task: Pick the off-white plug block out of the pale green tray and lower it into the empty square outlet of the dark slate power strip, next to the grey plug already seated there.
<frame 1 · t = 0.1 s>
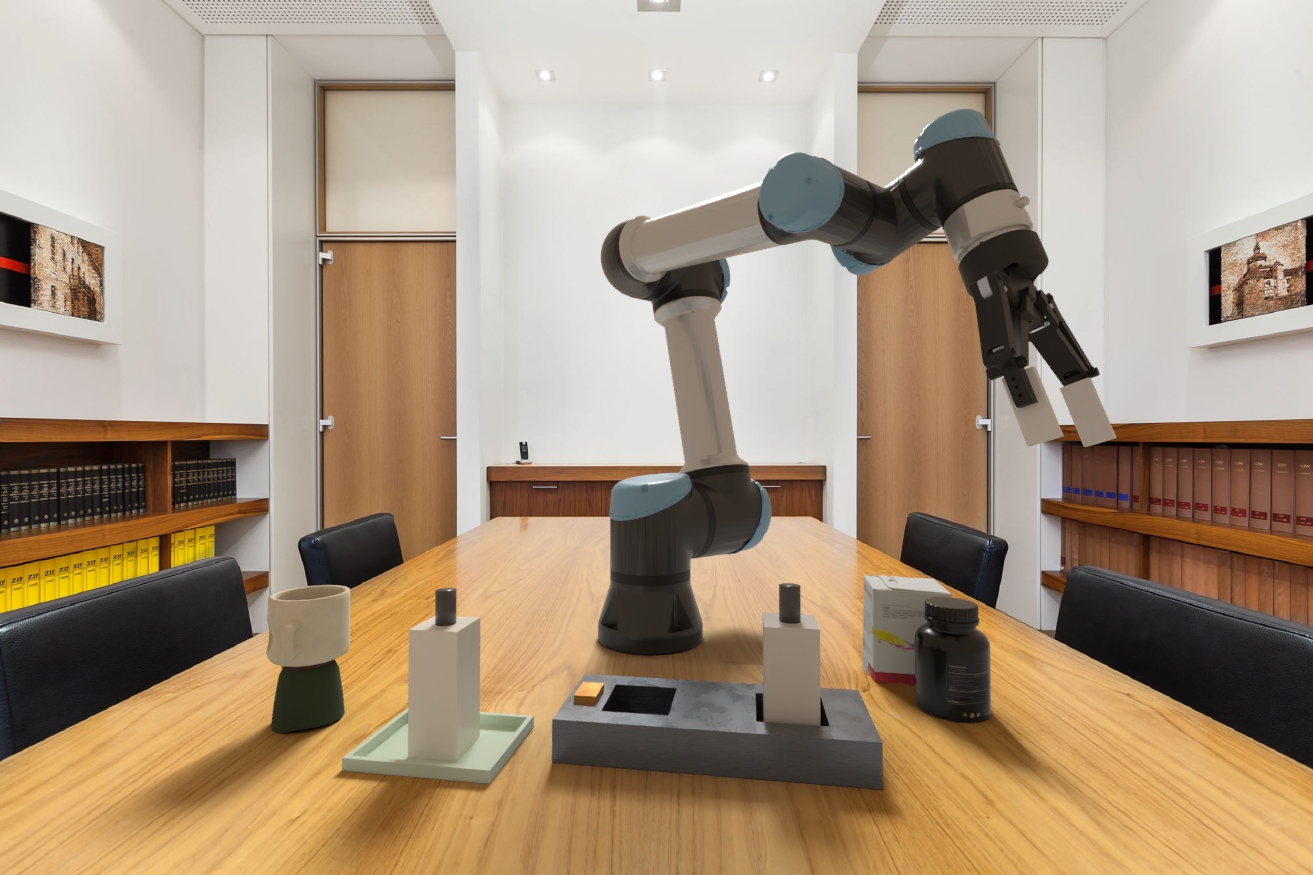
hand: (1074, 442, 56), 28 cm above the table, tool tilted 20°, fingers open, 13 cm apart
power strip: (714, 761, 52), on the table
tray: (444, 752, 54), on the table
character mug: (308, 726, 59), on the table
supplement bottle: (952, 724, 59), on the table
twin plug: (790, 749, 51), point 1 cm above the table, touching power strip
plug: (445, 746, 54), resting on tray
ink box: (904, 684, 70), on the table
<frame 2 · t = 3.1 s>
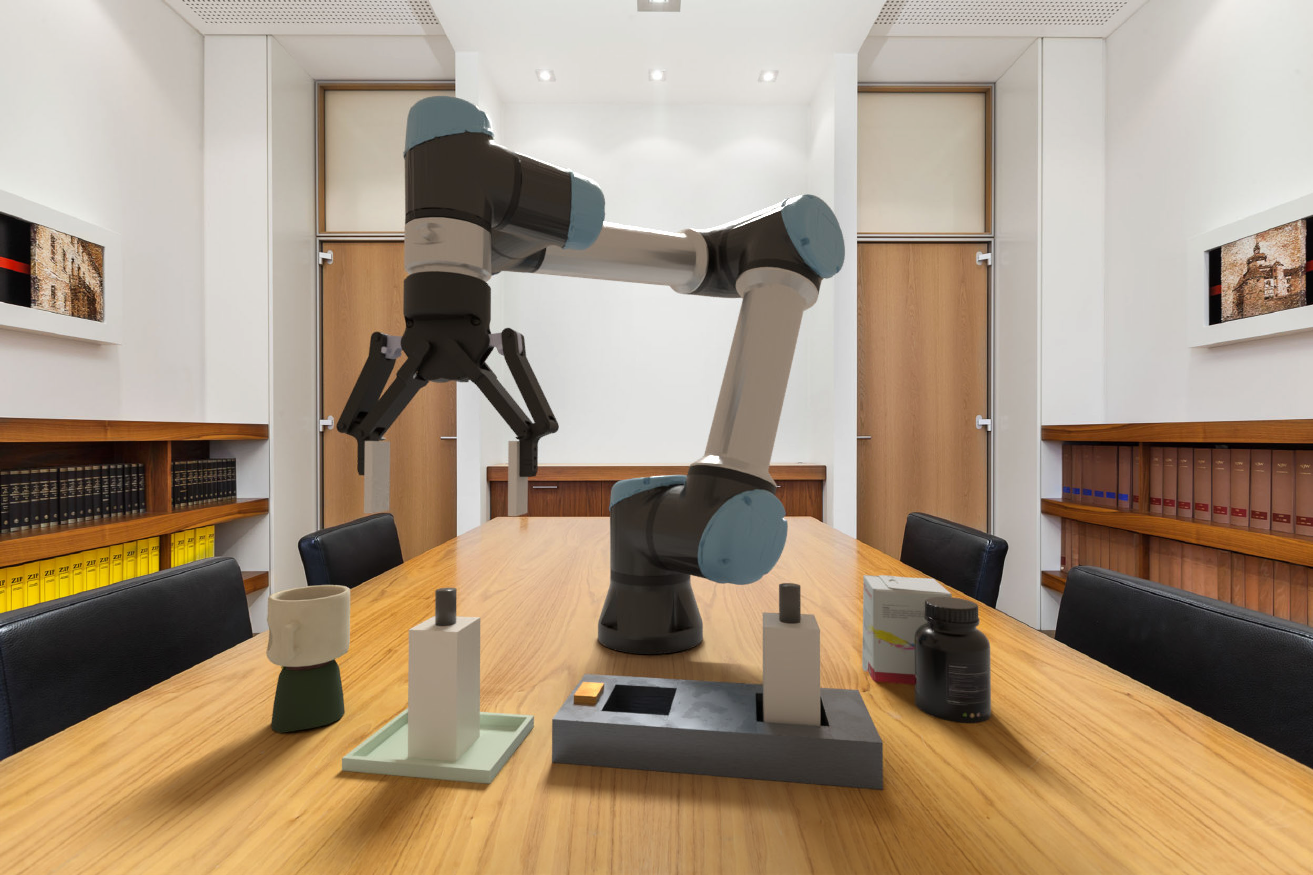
hand: (446, 513, 54), 21 cm above the table, tool pointing down, fingers open, 13 cm apart
nothing on the table moved.
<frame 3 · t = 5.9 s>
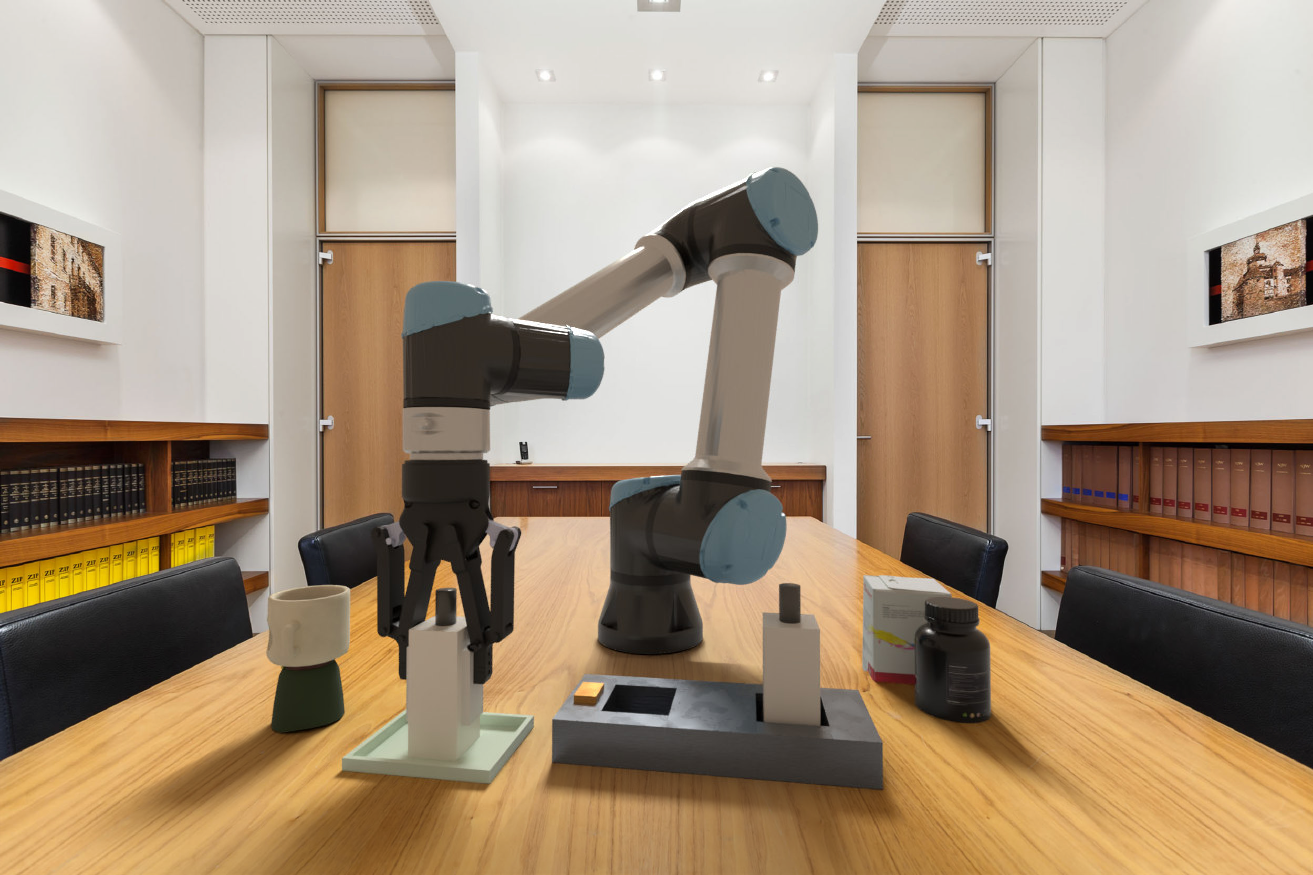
hand: (445, 716, 54), 3 cm above the table, tool pointing down, fingers closed on plug, 4 cm apart
plug: (445, 746, 54), point 1 cm above the table, touching gripper, tray
everything else where it was.
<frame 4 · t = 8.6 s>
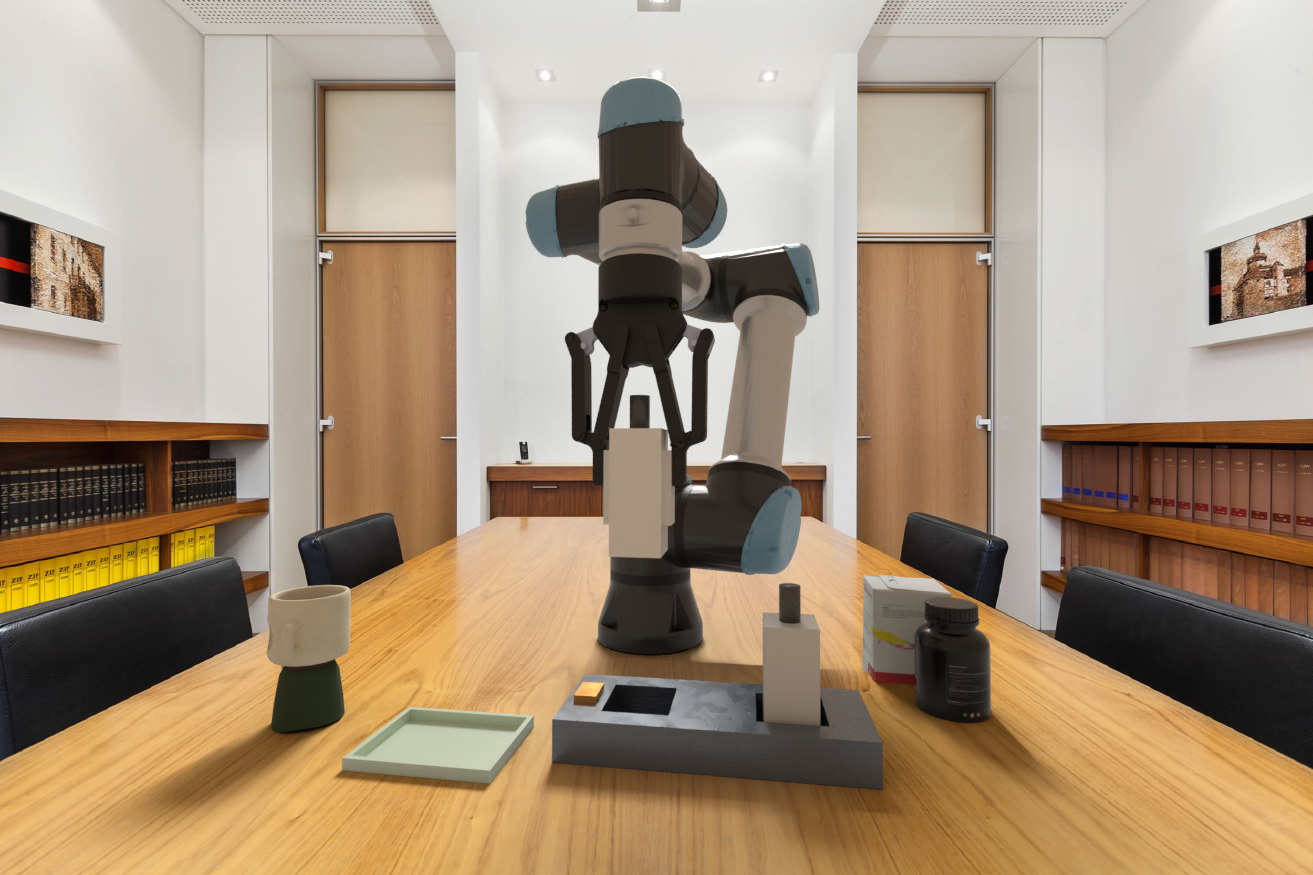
hand: (639, 522, 53), 21 cm above the table, tool pointing down, fingers closed on plug, 4 cm apart
plug: (639, 553, 53), point 18 cm above the table, touching gripper
everything else where it was.
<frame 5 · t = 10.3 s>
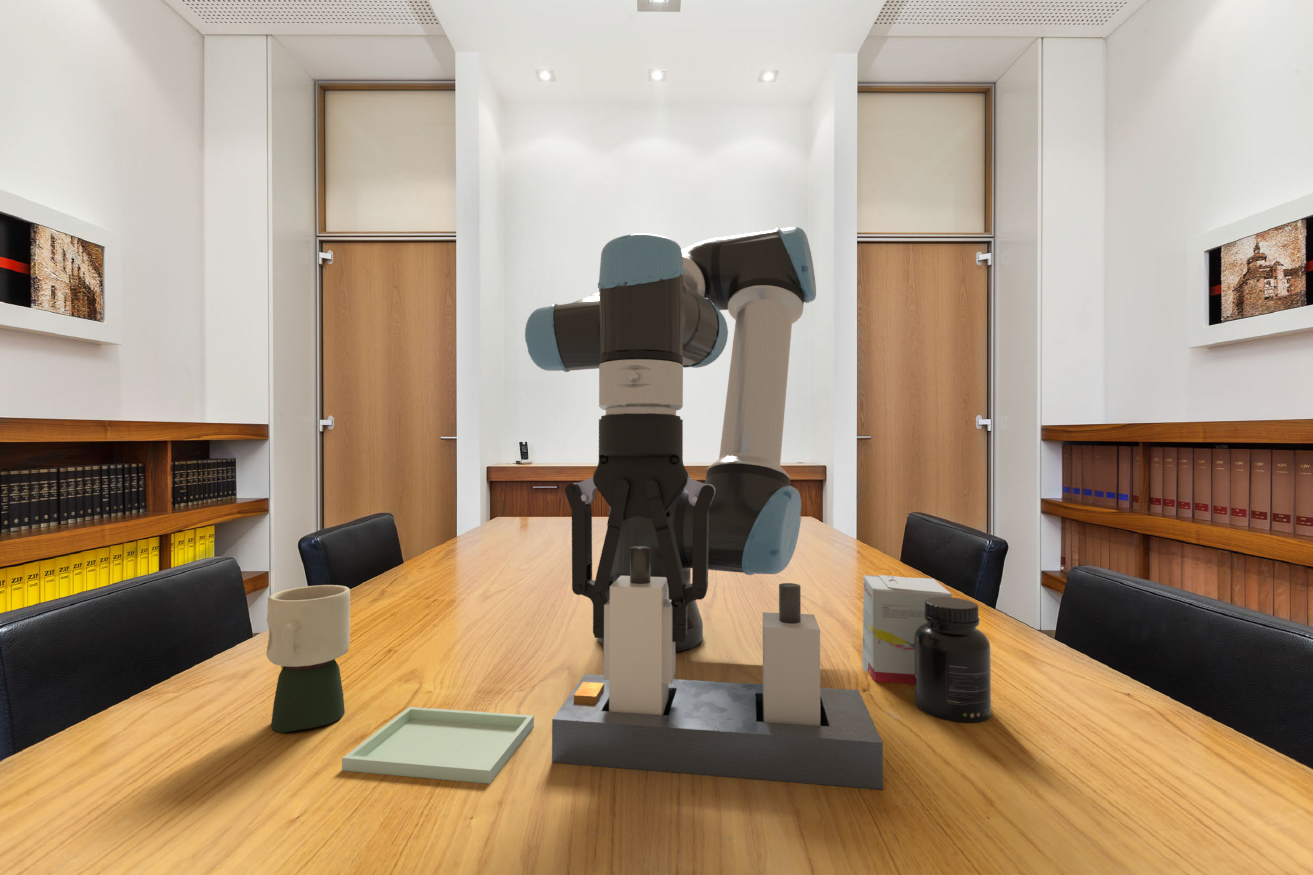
hand: (640, 675, 53), 7 cm above the table, tool pointing down, fingers closed on plug, 4 cm apart
plug: (639, 706, 53), point 4 cm above the table, touching gripper
everything else where it was.
when the fingers open (6 cm above the table, at t = 11.4 s): plug drops 2 cm, resting on power strip.
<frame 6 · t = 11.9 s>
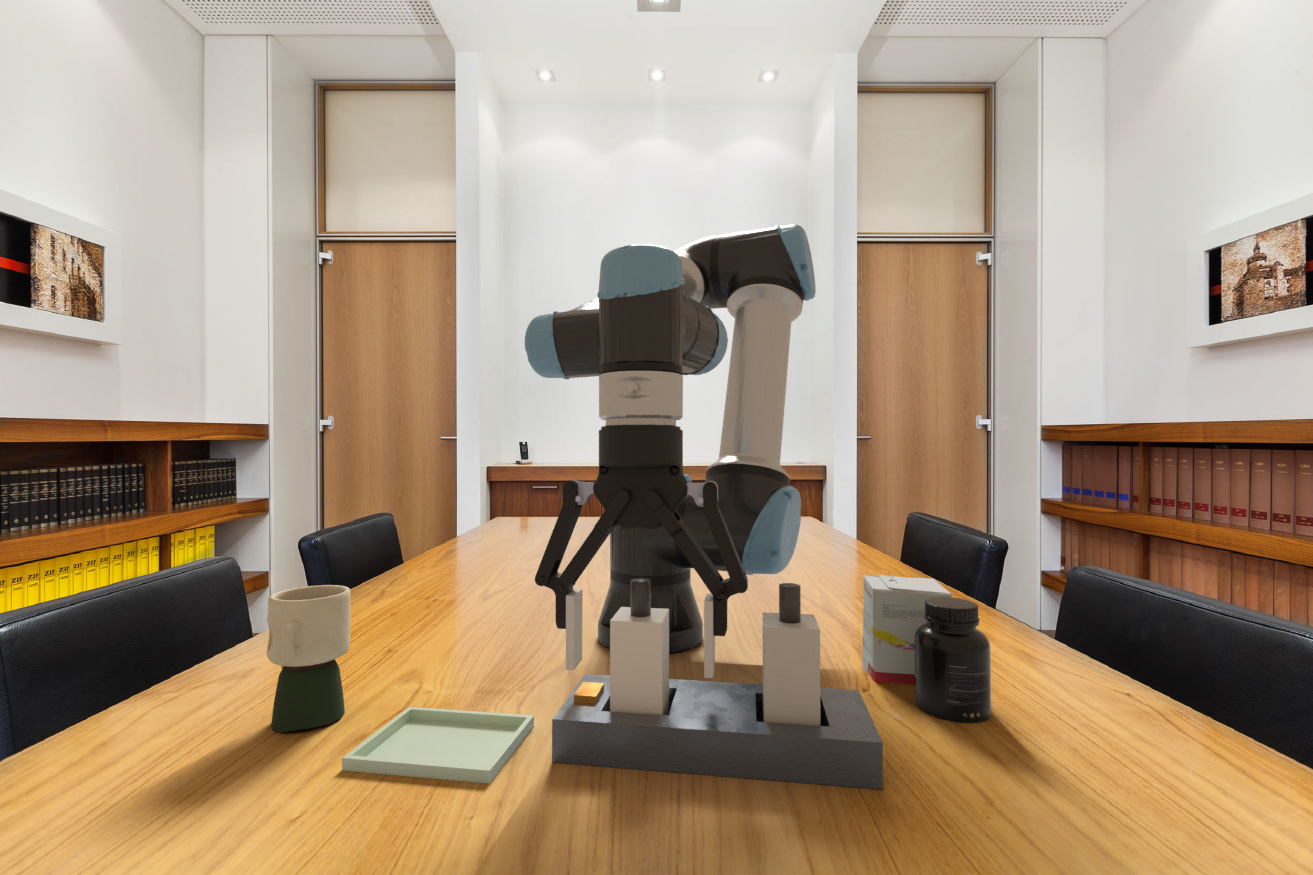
hand: (640, 668, 53), 8 cm above the table, tool pointing down, fingers open, 11 cm apart
plug: (640, 739, 53), point 1 cm above the table, touching power strip
everything else where it was.
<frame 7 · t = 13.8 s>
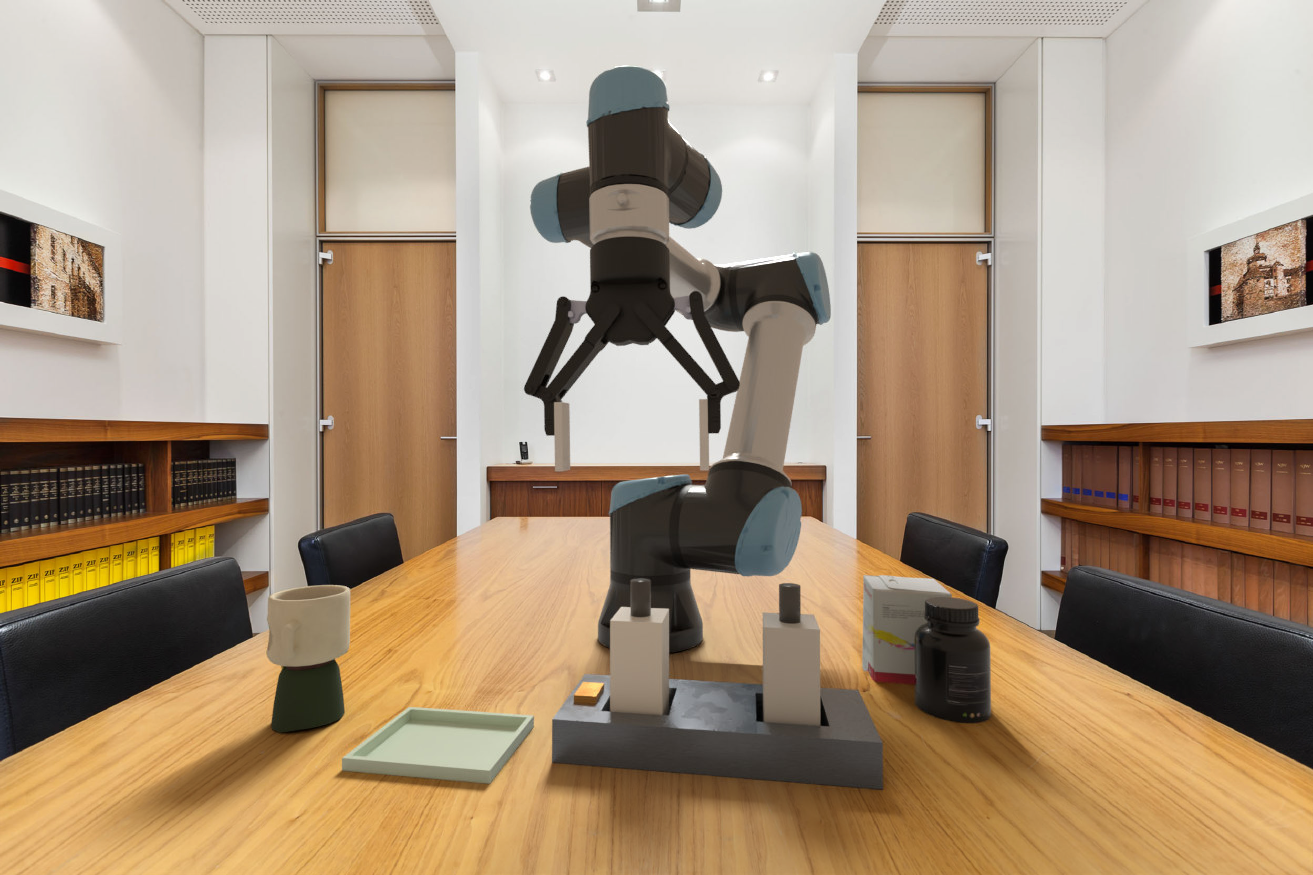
hand: (632, 470, 57), 25 cm above the table, tool pointing down, fingers open, 13 cm apart
nothing on the table moved.
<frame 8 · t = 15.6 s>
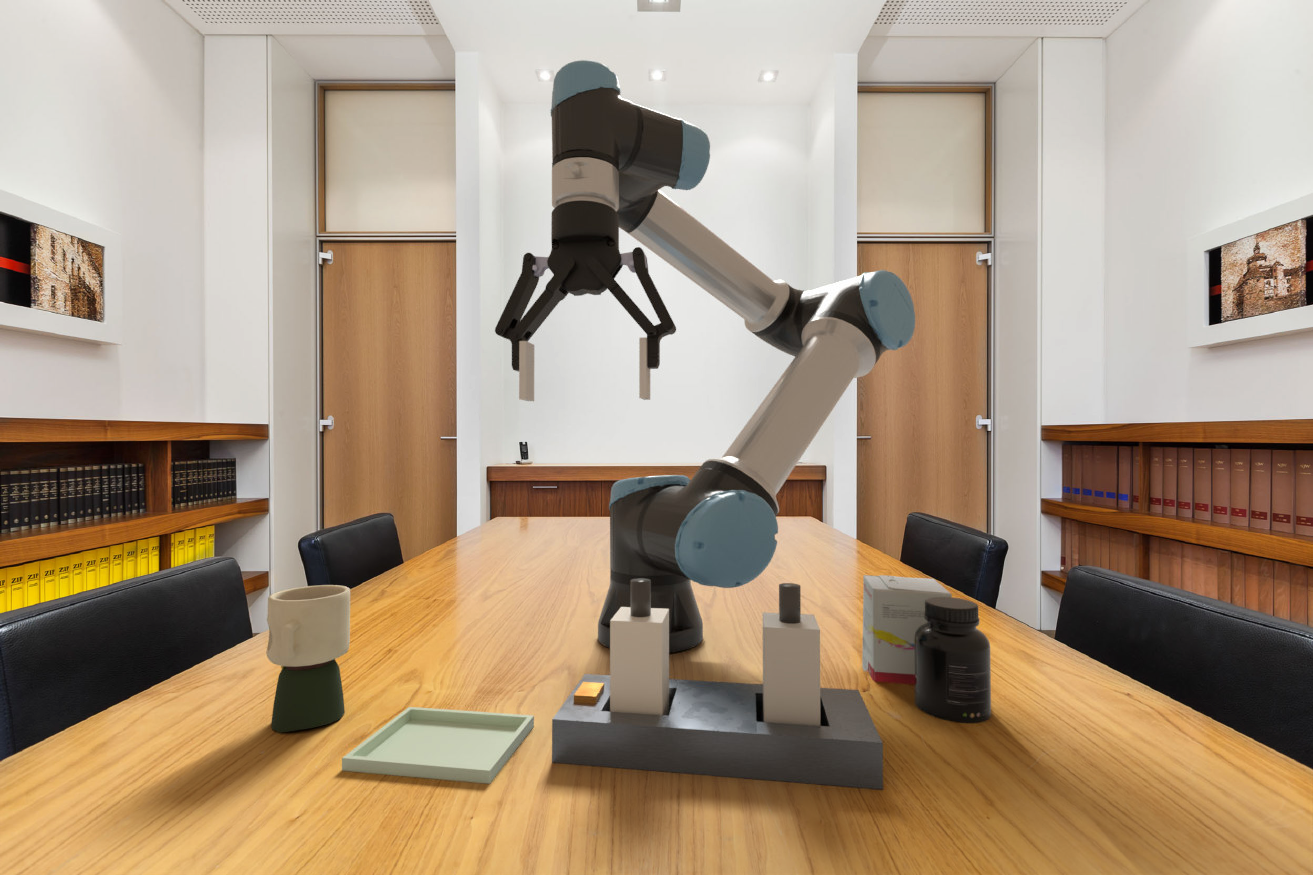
hand: (584, 399, 67), 33 cm above the table, tool pointing down, fingers open, 13 cm apart
nothing on the table moved.
at the end: plug 0.1 cm from the target spot on the power strip, point 1.5 cm above the power strip's base; plug tilted 0°; the gripper is holding nothing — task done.
